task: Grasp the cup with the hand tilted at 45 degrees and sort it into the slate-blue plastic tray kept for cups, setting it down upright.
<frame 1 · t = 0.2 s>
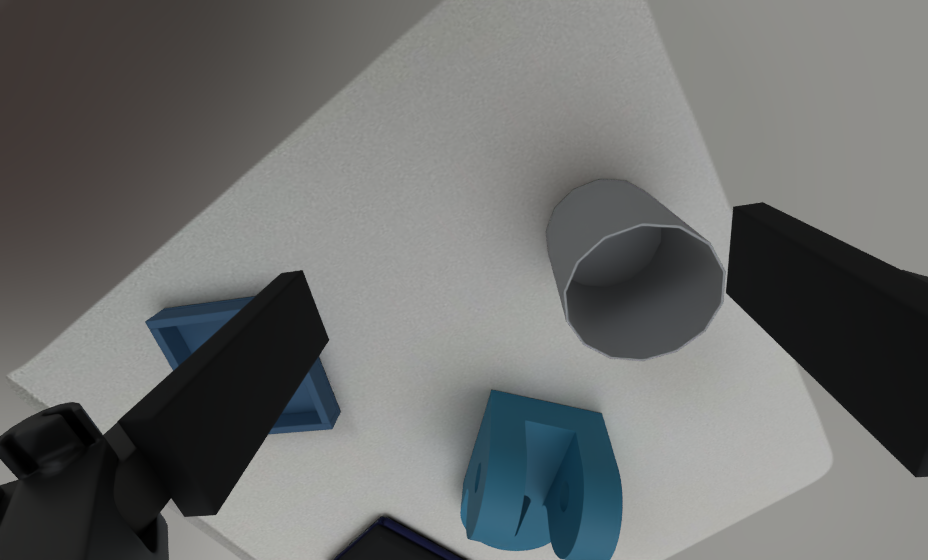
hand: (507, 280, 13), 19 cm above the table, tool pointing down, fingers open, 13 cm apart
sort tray: (256, 362, 40), on the table
camera mount: (521, 465, 43), on the table
cup: (601, 233, 32), on the table
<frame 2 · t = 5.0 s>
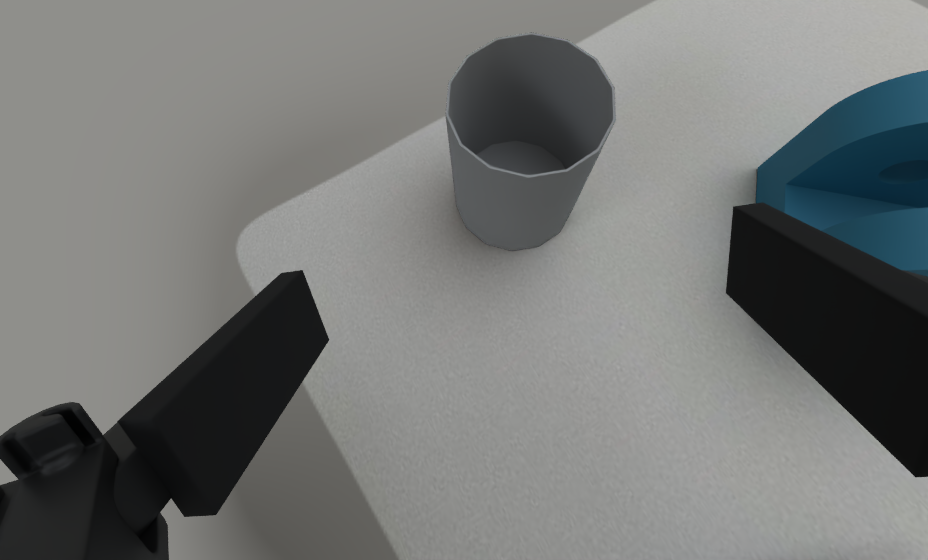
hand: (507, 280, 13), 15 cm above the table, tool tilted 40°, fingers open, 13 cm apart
camera mount: (891, 262, 28), on the table
cup: (513, 196, 31), on the table
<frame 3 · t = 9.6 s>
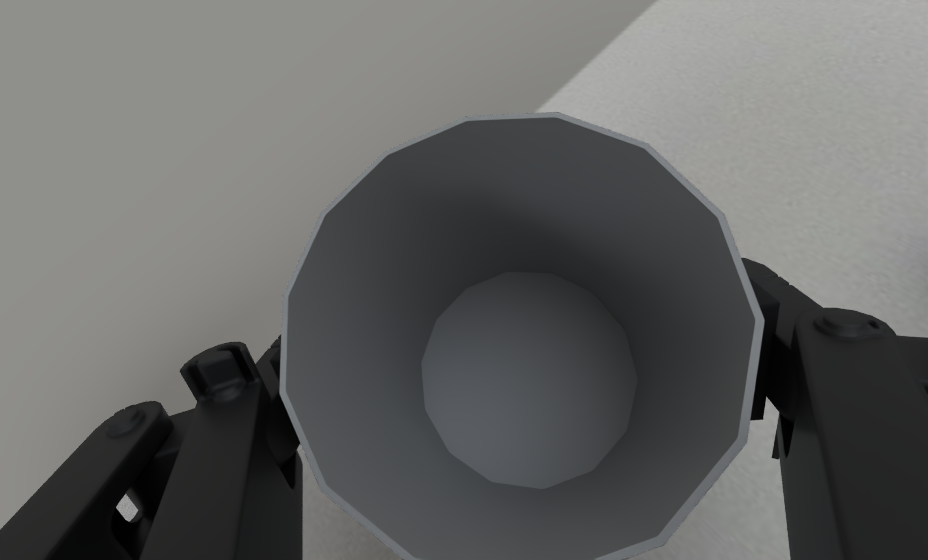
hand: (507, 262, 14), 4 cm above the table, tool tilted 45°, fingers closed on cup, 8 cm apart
cup: (525, 373, 17), on the table, touching gripper
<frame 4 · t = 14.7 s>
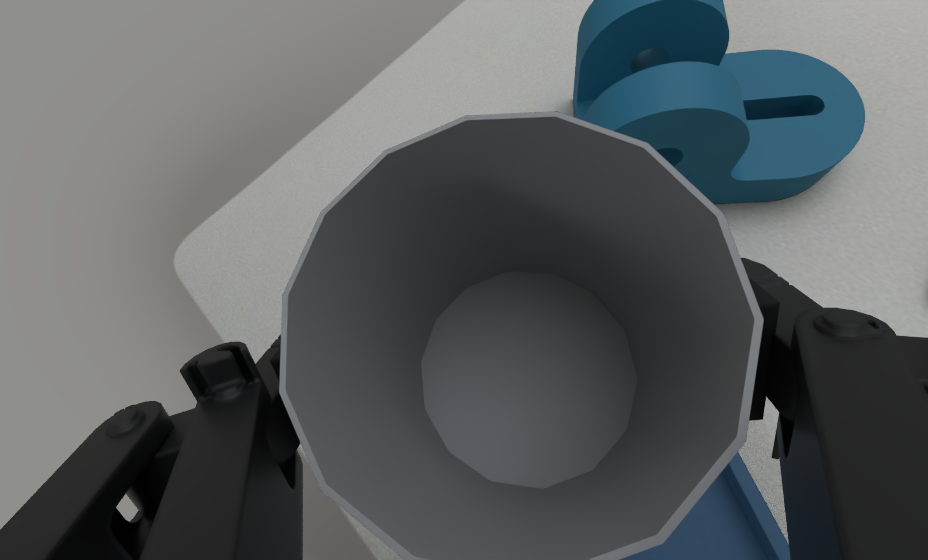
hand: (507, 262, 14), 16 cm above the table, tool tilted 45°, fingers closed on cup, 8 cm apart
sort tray: (640, 545, 25), on the table
camera mount: (696, 144, 32), on the table
cup: (524, 373, 17), point 12 cm above the table, touching gripper
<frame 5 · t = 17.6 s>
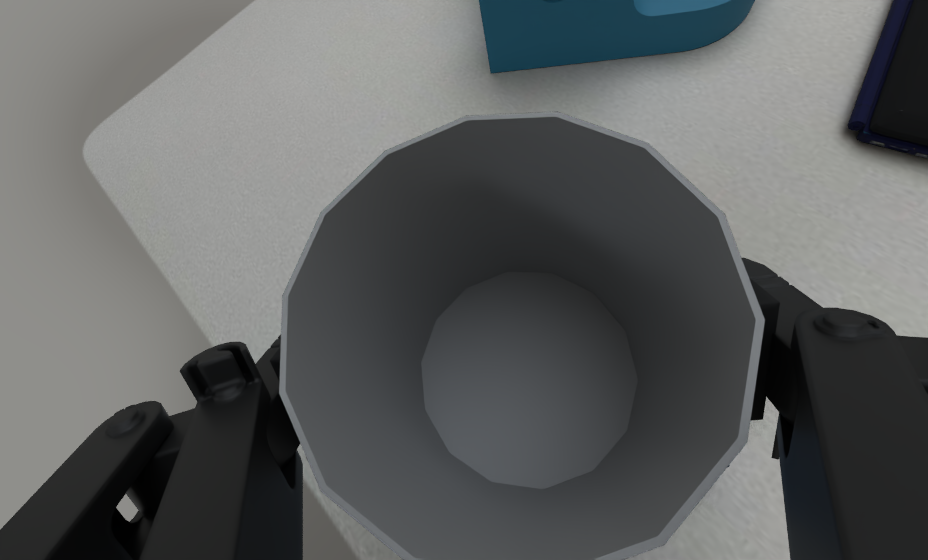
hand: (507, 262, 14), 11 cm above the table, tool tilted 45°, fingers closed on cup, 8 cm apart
camera mount: (615, 4, 31), on the table
cup: (525, 373, 17), point 7 cm above the table, touching gripper
when the fingers open (4 cm above the table, at t = 19.8 s): cup stays where it is, resting on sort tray.
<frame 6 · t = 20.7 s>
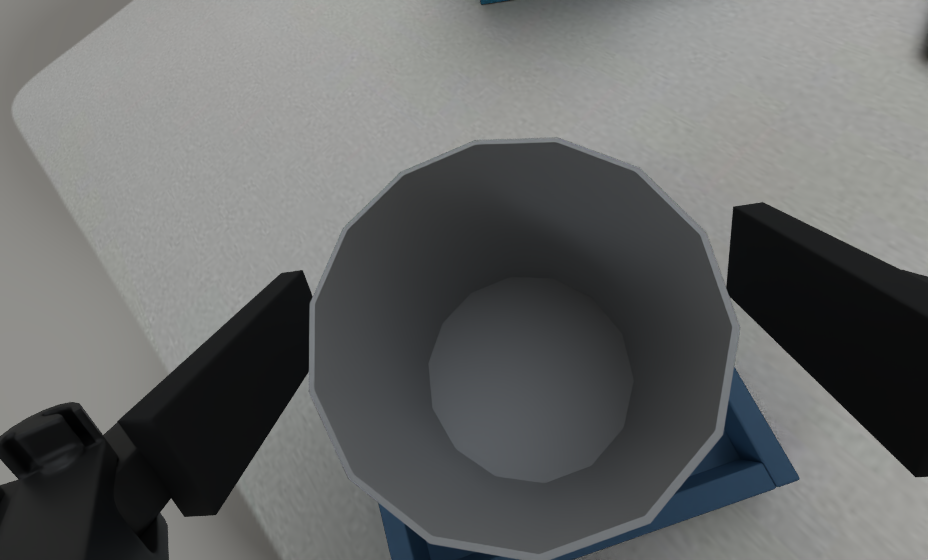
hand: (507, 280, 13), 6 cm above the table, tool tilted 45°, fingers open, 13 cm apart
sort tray: (527, 374, 18), on the table
cup: (527, 373, 18), resting on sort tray
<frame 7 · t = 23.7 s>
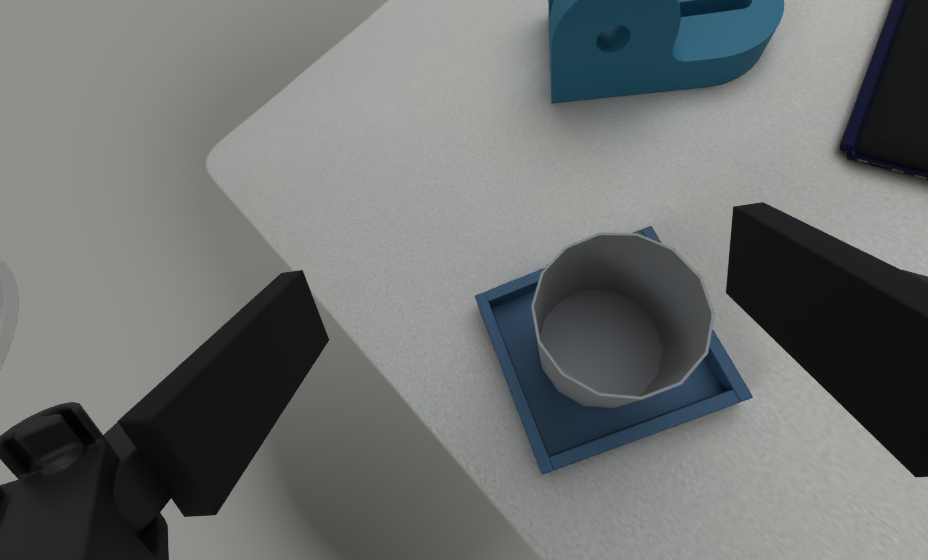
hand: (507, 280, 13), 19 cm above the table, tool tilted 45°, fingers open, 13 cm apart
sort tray: (597, 347, 30), on the table
camera mount: (652, 46, 38), on the table
cup: (597, 347, 30), resting on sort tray
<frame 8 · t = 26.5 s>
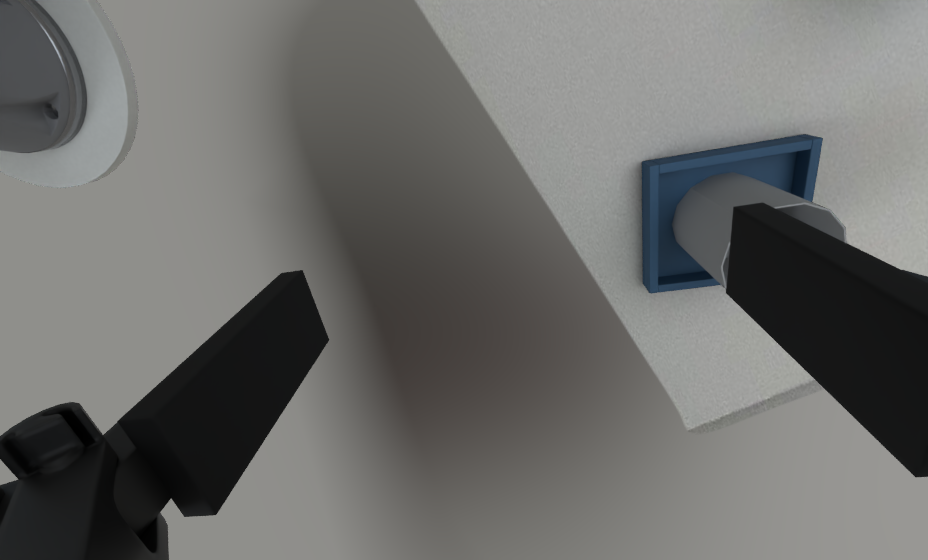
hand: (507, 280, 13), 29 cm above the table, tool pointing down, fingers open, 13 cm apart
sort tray: (716, 215, 40), on the table
cup: (718, 216, 40), resting on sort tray
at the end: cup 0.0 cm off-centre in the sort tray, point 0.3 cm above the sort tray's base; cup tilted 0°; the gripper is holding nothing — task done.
